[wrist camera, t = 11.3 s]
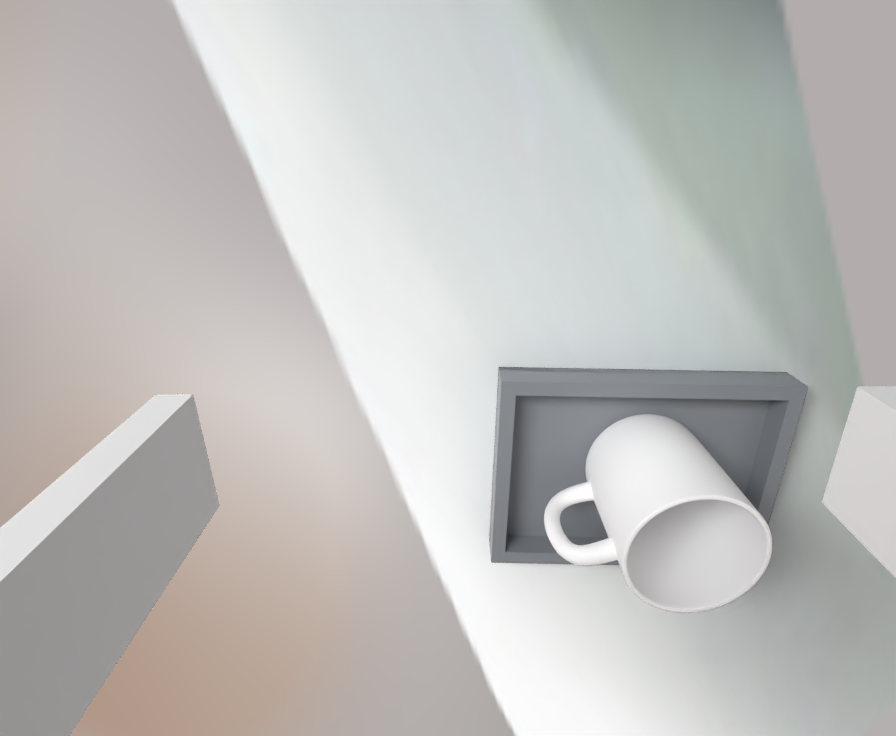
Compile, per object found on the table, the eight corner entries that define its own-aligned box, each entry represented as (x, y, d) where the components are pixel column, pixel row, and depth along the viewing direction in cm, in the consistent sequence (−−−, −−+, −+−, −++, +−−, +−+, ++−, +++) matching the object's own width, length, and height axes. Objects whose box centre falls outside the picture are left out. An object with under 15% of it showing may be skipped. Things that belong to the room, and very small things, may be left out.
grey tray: (498, 367, 38) (501, 381, 35) (786, 372, 37) (808, 387, 35) (489, 540, 43) (491, 562, 41) (739, 545, 43) (755, 567, 41)
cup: (701, 494, 41) (776, 598, 31) (545, 527, 42) (571, 636, 32) (690, 398, 38) (769, 481, 28) (522, 436, 39) (544, 528, 30)
